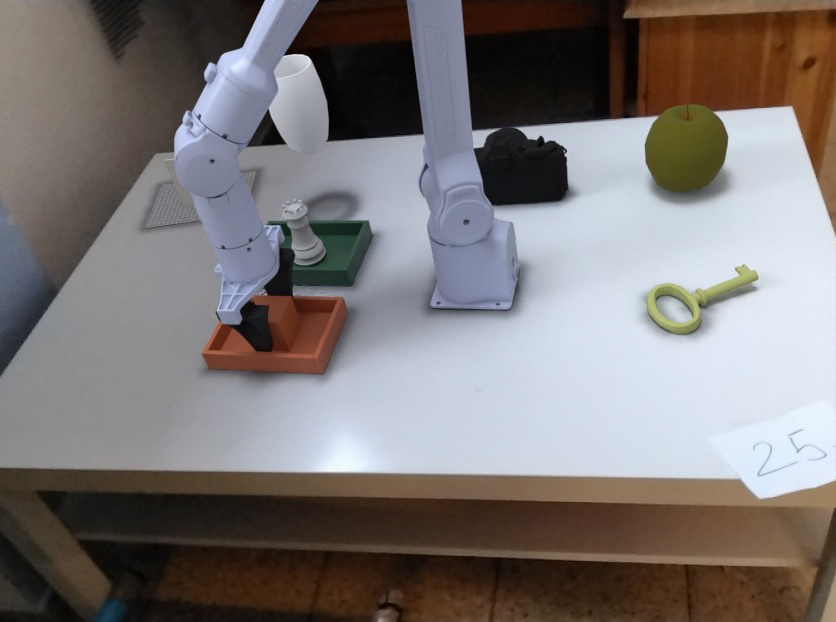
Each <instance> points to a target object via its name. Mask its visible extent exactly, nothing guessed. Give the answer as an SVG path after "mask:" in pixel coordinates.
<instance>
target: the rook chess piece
mask: <svg viewBox="0 0 836 622" xmlns="http://www.w3.org/2000/svg"><path fill="white" fill-rule="evenodd" d="M285 203H286V204H283V205H282V212H281V216H282V218H284V220H285V221H288V223H287V225H288V227H289V228H290V229H291V233H292V246H291V249H293V250H294V252H295V259H294V262H295V263H296V264H298V265H300V266H312V265H315V264H317V263H318V262H320V261H321V260H322V259H323V257H324V255H325V252H326V250H325V247H323V246H324V245H323V242H322V241H321V240H320V239H319V238H317V236H316V235H314V233H313V231H312V229H311V227H310V225H309V223H308V222H309V221H310V218H309V216H308V215H307V213H308V210H309V208H308V206H307V205H305V204H304V203H303V201H302V200H301V199H299V200H298V199H297V198H295V199H294V198H293V199H292V203H291V201H290V200H287V201H286V202H285Z"/></svg>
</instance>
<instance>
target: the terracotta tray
mask: <svg viewBox="0 0 836 622" xmlns="http://www.w3.org/2000/svg"><path fill="white" fill-rule="evenodd" d="M255 296H268V295H267V294H265V295H264V294H255V295H254V296H253V297H252V298H251V299H250V301H251V302H252V301H253V300H254V298H255ZM293 303H294V305H295V308H296V311H297V313H298V316H299V319H300V322H301V324H302V325H301V328H300V330H299V332H298V334H297V336H296V338H295V341H294V343H293V345H292V347H291V349H290V351H272V352H256V351H255V350H254V349H253V347H252V346H251V345H250V344H249V343H248V342H247V341H246V339H245V338H244V337H243V336H242V335H241V334H239V333H238V332H237V331H236V330H234V329H233V328H231V327H230V326H228V325H226V324H222V322H221V321H219V320H218V323H217V325H216V326H215V328H214V330H213V331H212V333H211V336H210V337H209V339H208V341H207V343H206V344H205V346H204V348H203V349H202V352H201V356H202V358H203V360H204V362H205V364H206V366H207V368H208V369H209V370H230V371H249V372H273V373H292V374H293V373H295V374H296V373H297V374H313V375H314V374H315V375H323V374H324V373H325V370H326V368H327V366H328V363H329V361H330V358H331V357H332V353H333V351H334V349H335V346H336V343H337V341H338V339H339V336H340V334H341V331H342V329H343V326H344V324H345V321H346V319H347V317H348V314H349V310H348V306H347V304H346V301H345V297H344V296H322V295H321V296H319V295H317V296H316V295H310V296H309V295H293Z"/></svg>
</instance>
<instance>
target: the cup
mask: <svg viewBox="0 0 836 622" xmlns="http://www.w3.org/2000/svg"><path fill="white" fill-rule="evenodd" d="M274 75H275V78H276V81H277V84H278V93H277V94H276V96H275V98H274V100H273V101H272V103H271V105H270V107H269V108H268V110H269V111H268V112H269V114H270V117H271V119H272V121H273V123H274V125H275V128H276V130H277V131H278V133H279V135H280V136H281V138H282V140H283V141H284V142H285V143H286V145H287V146H288V148H289V150H292V151H295V152H299V153H300V154H302V155H313V154H315V153H317V152H319V151H320V150H321V149H322V146H323V145H325V143H326V142H327V141H328V139H329V138H328V137H329V126H330V125H329V124H330V123H329V122H330V119H329V109H328V100H327V98H326V95H325V91H324V88H323V84H322V81H321V79H320V76H319V74H318V73H317V70H316V68H315V65H314V63H313V61H312V59H311V58H310V57H309V56H307V55H305V54H298V53H297V54H288V55H283V57H282V59H281V60H280V62H279V63H278V65H277V67H276V68H275V70H274Z"/></svg>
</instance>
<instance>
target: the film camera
mask: <svg viewBox="0 0 836 622" xmlns="http://www.w3.org/2000/svg"><path fill="white" fill-rule="evenodd" d="M473 148H474V153H475V156H476V160H477V163H478V167H479V170H480V174H481V177H482V181H483V190H484V194H485V196H486V197H487V199H488V200H489V201H490V203H491V205H492V206H504V205H505V206H507V205H508V206H509V205H526V204H538V203H551V202H559V201H561V200H563V199H564V198H565V197H566V195H567V192H568V191H569V176H568V175H569V174H568V156H565V154H567V153H568V149H567V147H564V145H561V144H560V143H559V142H557V141H556V140H547V141H545V137H544V136H543V135H538V138H537V139H533V138H528V137H527V135H526V134H525V132H524V131H522V130H520V129H519V128H517V127H513V126H510V127H509V126H506V127H501V128H499V129H497V130H495V131H493V132H490V133H489V134H488V135H487V136H486V138H485V140H484V143H483V146H481V147H473Z"/></svg>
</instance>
